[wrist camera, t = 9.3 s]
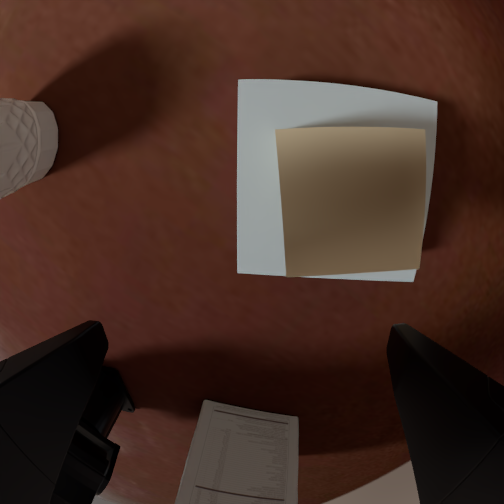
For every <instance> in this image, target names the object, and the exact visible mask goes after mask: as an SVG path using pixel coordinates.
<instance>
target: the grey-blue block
mask: <svg viewBox="0 0 504 504" xmlns="http://www.w3.org/2000/svg"><path fill="white" fill-rule="evenodd" d="M310 127H395V128H414V129H425V135H426V197H425V216H424V229H423V236H424V231H425V225H426V220H427V214H428V207H429V201H430V194H431V186H432V178H433V169H434V158H435V146H436V130H437V101H433V100H429V99H425V98H420V97H416V96H411V95H407V94H402V93H397V92H391V91H386V90H380V89H374V88H367V87H360V86H353V85H344V84H335V83H325V82H313V81H297V80H269V79H243V80H238V135H237V273H245V274H261V275H277V276H286V266H285V250H284V235H283V220H282V207H281V194H280V181H279V169H278V158H277V146H276V136H275V129H290V128H310ZM415 273H416V269H412V270H398V271H384V272H370V273H354V274H338V275H320V276H301V277H313V278H332V279H353V280H377V281H402V282H413V281H414V277H415Z"/></svg>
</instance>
